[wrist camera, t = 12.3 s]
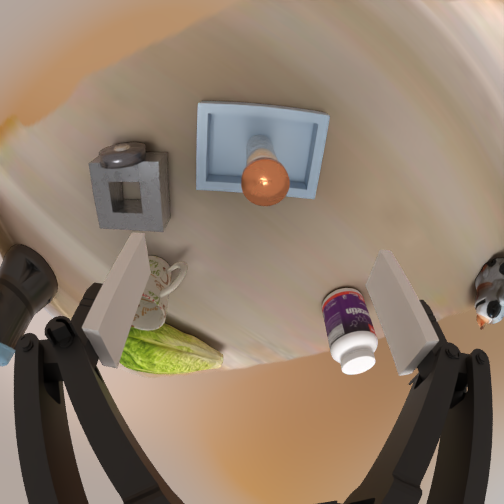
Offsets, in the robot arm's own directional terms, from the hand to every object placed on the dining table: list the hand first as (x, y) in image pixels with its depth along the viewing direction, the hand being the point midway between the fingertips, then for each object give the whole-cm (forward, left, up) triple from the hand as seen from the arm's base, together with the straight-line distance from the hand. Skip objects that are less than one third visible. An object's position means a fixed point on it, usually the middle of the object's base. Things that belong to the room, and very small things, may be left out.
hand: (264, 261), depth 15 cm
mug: (-14, -20, -24) cm, 34 cm away
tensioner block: (-17, -6, -24) cm, 30 cm away
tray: (0, 0, -24) cm, 24 cm away
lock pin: (0, 0, -23) cm, 23 cm away
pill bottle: (+18, -26, -24) cm, 40 cm away
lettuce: (-15, -39, -24) cm, 48 cm away
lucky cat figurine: (+56, -19, -24) cm, 64 cm away
